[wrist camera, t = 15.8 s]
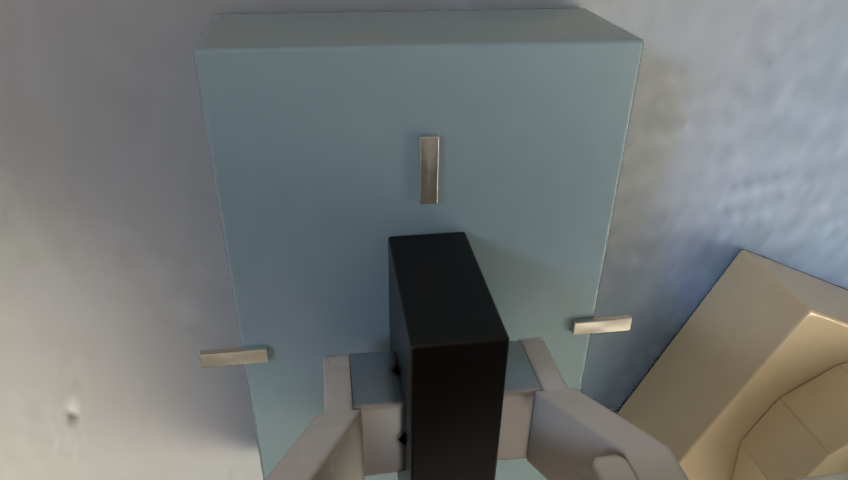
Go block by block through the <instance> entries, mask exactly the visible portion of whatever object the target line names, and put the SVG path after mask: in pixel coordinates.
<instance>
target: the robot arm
mask: <svg viewBox="0 0 848 480" xmlns="http://www.w3.org/2000/svg"><path fill="white" fill-rule="evenodd" d="M323 370H324V408H325V413H318V414H317V415H316V416H315V417H314V419H313V420H312V421H311V422H310V424H309V425H308V426H307V427H306V429H305V430H304V431H303V432H302V434H301V435H300V436H299V437H298V439H297V440H296V441H295V442H294V444H293V445H292V446H291V447H290V449H289V450H288V451H287V452H286V454H285V455H284V456H283V457H282V459H281V460H280V461H279V462H278V464H277V465H276V466H275V467H274V469H273V470H272V471H271V472H270V474H269V475H268V476H267V477H266V479H265V480H364V479H365V476H372V475H379V474H386V473H394V472H401V471H405V440H404V434H403V433H404V432H405V398H404V393H403V387H402V381H401V378H400V377H399V376H398V359H397V353H396V351H386V352H371V353H355V354H349V355H348V354H345V355H331V356H324V360H323ZM523 458H527V461H528V462H529V463H530V464H531V465H532V466H533V467H534V468H535V469H537V470H538V471H539V472H540V473H541V474H542V475H543V476H544V477H545V478H546V479H547V480H689V478H688V477H687V475H686V473H685V472H684V470H683V469H682V467H681V465H680V464H679V462H678V460H677V459H676V457H675V456H674V454H673V452H672V451H671V449H670V447H668V446H667V445H665V444H663V443H662V442H660V441H659V440H657V439H655V438H654V437H652V436H651V435H649V434H648V433H646V432H644V431H643V430H641V429H640V428H638V427H636V426H635V425H633V424H632V423H630V422H629V421H627V420H625V419H624V418H622V417H621V416H619V415H617V414H616V413H614V412H613V411H611V410H609V409H608V408H606V407H605V406H603V405H602V404H600V403H598V402H597V401H595V400H594V399H592V398H590V397H589V396H587V395H586V394H584V393H583V392H581V391H579V390H578V389H576V388H568V386H567V384H566V382H565V380H564V378H563V376H562V374H561V372H560V370H559V368H558V366H557V364H556V362H555V360H554V358H553V356H552V354H551V352H550V350H549V348H548V346H547V344H546V342H545V340H544V339H543V338H541V337H536V338H527V339H518V340H513V341H509V350H508V359H507V369H506V379H505V389H504V398H503V408H502V418H501V428H500V437H499V447H498V457H497V461H500V460H512V459H523ZM789 480H848V472H844V473H836V474H828V475H820V476H812V477H805V478H797V479H789Z"/></svg>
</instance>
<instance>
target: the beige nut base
mask: <svg viewBox="0 0 848 480" xmlns="http://www.w3.org/2000/svg"><path fill="white" fill-rule="evenodd" d="M617 415H619V416H621V417H622V418H624V419H625V420H627V421H629V422H630V423H632V424H633V425H635V426H636V427H638V428H640V429H641V430H643V431H644V432H646V433H648V434H649V435H651V436H652V437H654V438H655V439H657V440H659V441H660V442H662V443H663V444H665V445H667V446H668V447H670V449H671V451H672V452H673V454H674V456H675V457H676V459H677V460H678V462H679V464H680V465H681V467H682V469H683V470H684V472H685V473H686V475H687V477H688V478H689V480H789V479H797V478H805V477H812V476H820V475H828V474H836V473H844V472H848V290H845V289H843V288H840V287H838V286H835V285H833V284H830V283H828V282H825V281H822V280H820V279H817V278H815V277H812V276H810V275H807V274H805V273H802V272H800V271H797V270H794V269H792V268H789V267H787V266H784V265H782V264H779V263H777V262H774V261H772V260H769V259H766V258H764V257H761V256H759V255H756V254H754V253H751V252H749V251H746V250H741V251H740V252H739V253H738V255H737V256H736V257H735V259H734V260H733V261H732V263H731V264H730V265H729V267H728V268H727V269H726V270H725V272H724V273H723V274H722V276H721V277H720V278H719V280H718V281H717V282H716V284H715V285H714V286H713V288H712V289H711V290H710V292H709V293H708V294H707V295H706V297H705V298H704V299H703V301H702V302H701V303H700V305H699V306H698V307H697V309H696V310H695V311H694V313H693V314H692V315H691V317H690V318H689V319H688V320H687V322H686V323H685V324H684V326H683V327H682V328H681V330H680V331H679V332H678V334H677V335H676V336H675V338H674V339H673V340H672V342H671V343H670V344H669V346H668V347H667V348H666V349H665V351H664V352H663V353H662V355H661V356H660V357H659V359H658V360H657V361H656V363H655V364H654V365H653V367H652V368H651V369H650V371H649V372H648V373H647V374H646V376H645V377H644V378H643V380H642V381H641V382H640V384H639V385H638V386H637V388H636V389H635V390H634V392H633V393H632V394H631V396H630V397H629V398H628V399H627V401H626V402H625V403H624V405H623V406H622V407H621V409H620V410H619V411H618V413H617Z"/></svg>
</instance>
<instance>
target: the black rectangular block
mask: <svg viewBox="0 0 848 480" xmlns="http://www.w3.org/2000/svg"><path fill="white" fill-rule="evenodd" d="M388 267H389V328H390V351H396V353H397V359H398V376H399V377H400V378H401V381H402V387H403V393H404V398H405V432H404V433H403V434H404V440H405V471H401V472H397V475H398V480H495V476H496V467H497V457H498V447H499V437H500V428H501V418H502V408H503V398H504V389H505V379H506V369H507V359H508V350H509V340H510V338H509V336H508V334H507V331H506V329H505V327H504V324H503V322H502V319H501V317H500V315H499V312H498V310H497V307H496V305H495V303H494V300H493V298H492V295H491V293H490V291H489V288H488V286H487V283H486V281H485V279H484V276H483V274H482V272H481V269H480V267H479V264H478V262H477V260H476V257H475V255H474V252H473V250H472V248H471V245H470V243H469V240H468V238H467V236H466V233H465V232H451V233H436V234H420V235H404V236H391V237H389V239H388Z"/></svg>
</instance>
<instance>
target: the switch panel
mask: <svg viewBox="0 0 848 480" xmlns="http://www.w3.org/2000/svg"><path fill="white" fill-rule="evenodd" d="M643 44H644V43H643V40H642V39H641V38H639V37H637V36H635V35H633V34H631V33H629V32H627V31H626V30H624V29H622V28H620V27H618V26H616V25H614V24H612V23H611V22H609V21H607V20H605V19H603V18H601V17H599V16H598V15H596V14H594V13H592V12H590V11H588V10H586V9H584V8H583V9H516V10H449V11H382V12H316V13H249V14H217V15H215V17H214V19H213V20H212V22H211V24H210V25H209V27H208V28H207V30H206V32H205V33H204V35H203V37H202V38H201V40H200V41H199V43H198V45H197V46H196V48H195V49H194V53H193V54H194V60H195V66H196V72H197V78H198V84H199V90H200V96H201V102H202V108H203V115H204V121H205V127H206V133H207V139H208V145H209V151H210V157H211V163H212V169H213V175H214V181H215V188H216V194H217V200H218V206H219V212H220V218H221V224H222V230H223V236H224V242H225V248H226V254H227V261H228V267H229V273H230V279H231V285H232V291H233V297H234V303H235V309H236V315H237V321H238V327H239V334H240V340H241V346H242V347H240V348H228V349H216V350H204V351H200V354H199V357H200V362H201V367H202V368H207V367H218V366H230V365H241V364H245V370H246V376H247V382H248V388H249V394H250V400H251V407H252V413H253V419H254V425H255V431H256V437H257V443H258V449H259V455H260V461H261V467H262V473H263V480H265V479H266V477H267V476H268V475H269V474H270V472H271V471H272V470H273V469H274V467H275V466H276V465H277V464H278V462H279V461H280V460H281V459H282V457H283V456H284V455H285V454H286V452H287V451H288V450H289V449H290V447H291V446H292V445H293V444H294V442H295V441H296V440H297V439H298V437H299V436H300V435H301V434H302V432H303V431H304V430H305V429H306V427H307V426H308V425H309V424H310V422H311V421H312V420H313V419H314V417H315V416H316V415H317V414H318V413H325V408H324V370H323V360H324V356H331V355H345V354H348V355H349V354H355V353H371V352H386V351H390V328H389V267H388V239H389V237H391V236H404V235H420V234H436V233H451V232H465V233H466V236H467V238H468V240H469V243H470V245H471V248H472V250H473V252H474V255H475V257H476V260H477V262H478V264H479V267H480V269H481V272H482V274H483V276H484V279H485V281H486V283H487V286H488V288H489V291H490V293H491V295H492V298H493V300H494V303H495V305H496V307H497V310H498V312H499V315H500V317H501V319H502V322H503V324H504V327H505V329H506V331H507V334H508V336H509V338H510V340H509V341H513V340H518V339H527V338H536V337H541V338H543V339H544V340H545V342H546V344H547V346H548V348H549V350H550V352H551V354H552V356H553V358H554V360H555V362H556V364H557V366H558V368H559V370H560V372H561V374H562V376H563V378H564V380H565V382H566V384H567V386H568V388H576V389H578V390H579V391H580V389H581V383H582V378H583V372H584V367H585V361H586V356H587V350H588V345H589V339H590V334H595V333H606V332H618V331H629V330H630V326H631V322H632V317H631V316H630V315H620V316H608V317H596V318H593V317H594V312H595V307H596V301H597V296H598V290H599V285H600V279H601V274H602V268H603V263H604V257H605V252H606V246H607V241H608V236H609V230H610V225H611V219H612V214H613V208H614V203H615V197H616V192H617V186H618V181H619V175H620V170H621V164H622V159H623V154H624V148H625V143H626V137H627V132H628V126H629V121H630V115H631V110H632V104H633V99H634V93H635V88H636V83H637V77H638V72H639V66H640V61H641V55H642V50H643ZM364 480H398V475H397V472H394V473H386V474H379V475H372V476H365V479H364ZM495 480H547V479H546V478H545V477H544V476H543V475H542V474H541V473H540V472H539V471H538V470H537V469H535V468H534V467H533V466H532V465H531V464H530V463H529V462H528V461H527V458H523V459H512V460H500V461H497V467H496V476H495Z"/></svg>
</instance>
